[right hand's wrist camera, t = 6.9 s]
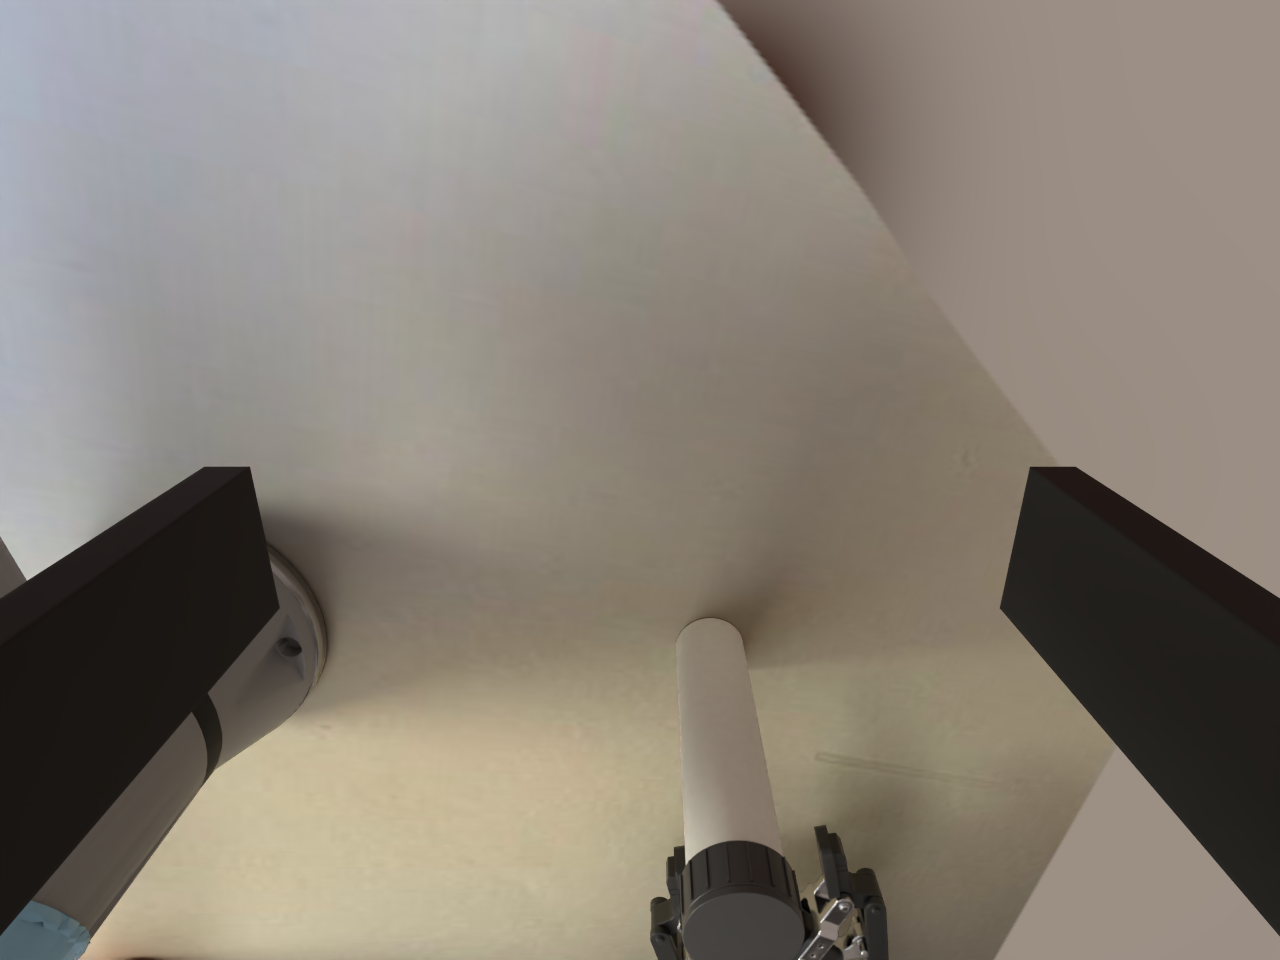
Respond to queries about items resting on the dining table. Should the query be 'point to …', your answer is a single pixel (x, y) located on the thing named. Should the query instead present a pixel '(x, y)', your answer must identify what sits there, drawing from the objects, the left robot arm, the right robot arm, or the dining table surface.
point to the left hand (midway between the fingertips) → (750, 847)
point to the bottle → (720, 742)
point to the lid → (740, 904)
